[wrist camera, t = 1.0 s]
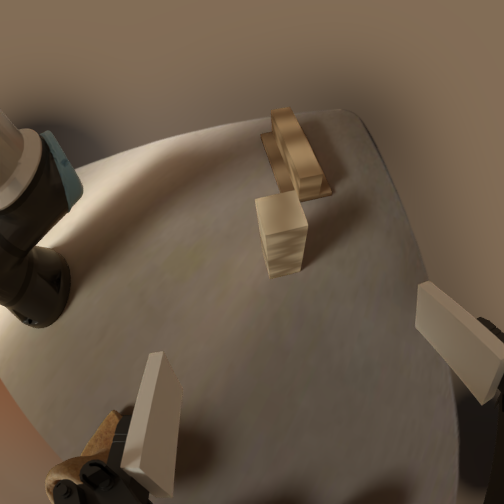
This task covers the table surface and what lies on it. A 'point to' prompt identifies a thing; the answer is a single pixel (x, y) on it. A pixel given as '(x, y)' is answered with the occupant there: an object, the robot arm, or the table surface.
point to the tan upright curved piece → (85, 454)
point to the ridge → (293, 158)
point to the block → (282, 232)
